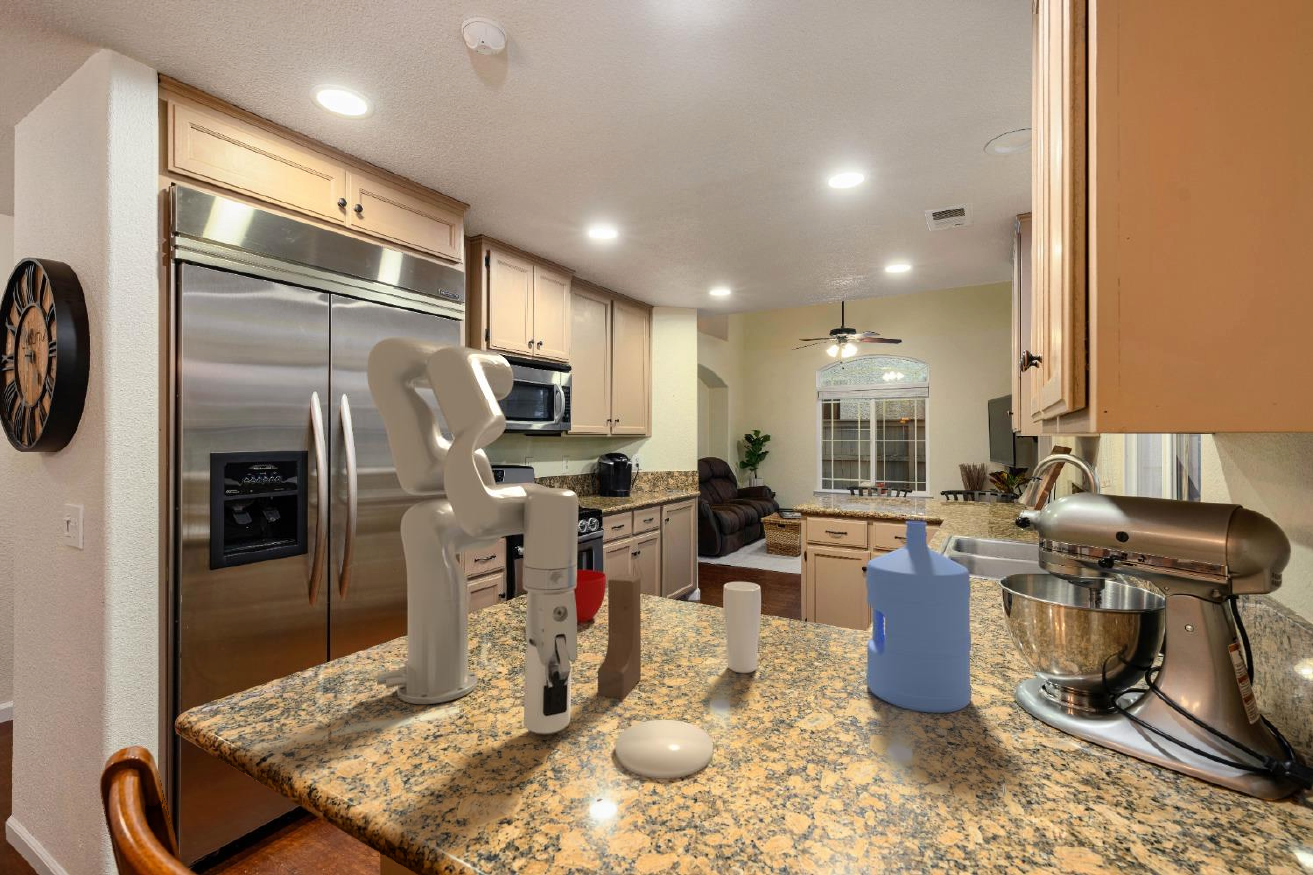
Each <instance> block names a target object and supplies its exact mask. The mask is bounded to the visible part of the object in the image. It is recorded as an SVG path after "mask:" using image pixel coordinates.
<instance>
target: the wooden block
mask: <svg viewBox="0 0 1313 875" xmlns="http://www.w3.org/2000/svg"><path fill="white" fill-rule="evenodd" d="M607 582H608V583H607V587H608V588H607V589H608V590H607V592H608V594H607V596H608V597H607V600H608V601H607V604H608V605H607V606H608V608H607V609H608V610H607V612H608V614H607V616H608V617H607V618H608V619H607V621H608V622H607V624H608V625H607V626H608V627H607V628H608V629H607V630H608V631H607V632H608V633H607V634H608V637H607V648H606V653H605V657H604V661H602V663H601V664H600V665H599V668H598V669H597V697H600V698H601V697H602V698H609V699H615V700H624V698H626V696H627V695H628V694H629V693H630V692H631V690H632V689H633V688H634V687H635V686H636V685H637V683H638V682H640V680H641V679H642V678H641V675H642V674H641V671H642V667H641V666H642V665H641V664H642V662H641V661H642V660H641V658H642V657H641V656H642V655H641V654H642V653H641V652H642V651H641V648H642V644H641V641H642V639H641V637H642V636H641V633H642V632H641V631H642V630H641V616H642V615H641V604H642V603H641V576H639V575H633V574H632V575H631V574H620V573H619V574H616V575H614V576H612V577H611V578H609V579H608V580H607Z"/></svg>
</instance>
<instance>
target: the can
mask: <svg viewBox="0 0 1313 875" xmlns="http://www.w3.org/2000/svg"><path fill="white" fill-rule="evenodd" d="M536 647H537V646H536V645H533V644H532V642H531V640H530V639H529V645H527V647H526V649H525V654H524V655H525V656H524V657H525V658H524V692H523V694H524V696H523V698H524V699H523V700H524V702H523V725H524V727H525V728H526V729H527V730H528V731H529V732H531V733H533V734H537V735H551V734H556V733H559V732H561V731H563V730H564V729H566V728H567V726H568V725H569V724H570V720H571V702H572V701H571V697H572V670H571V671H570V673H569V676H568V685H567V710H566V712H564V713H560V714H555V715H551V716H545V715H544V714H543V693H544V686H546V675H545V665H543V664H542V663H541V662H540V659H539V656H538V652H537V648H536ZM549 661H550V662H556V661H557V657H556V656H552V657H549ZM569 661H570V660H569ZM570 666H571V667H572V662H571V661H570ZM557 669H558V666H555V667H551V673H552V675H553V673H554V672H555V671H557Z"/></svg>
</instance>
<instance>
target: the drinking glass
mask: <svg viewBox="0 0 1313 875" xmlns="http://www.w3.org/2000/svg"><path fill="white" fill-rule="evenodd" d="M722 596H723V597H722V600H723V601H722V602H723V603H722V604H723V606H722V607H723V620H724V629H725V641H726V652H727V656H726V657H727V658H726V660H727V667H728V668H729V670H731V671H733V672H734V673H739V674H748V673H752V672H754V671H756V669H757V668H758V652H759V651H758V650H759V649H758V648H759V638H760V625H761V624H760V623H761V613H762V593H761V586H760V585H759V584H757V583H755V582H750V581H749V582H748V581H730V582H727V583H725V584H723V595H722Z"/></svg>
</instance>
